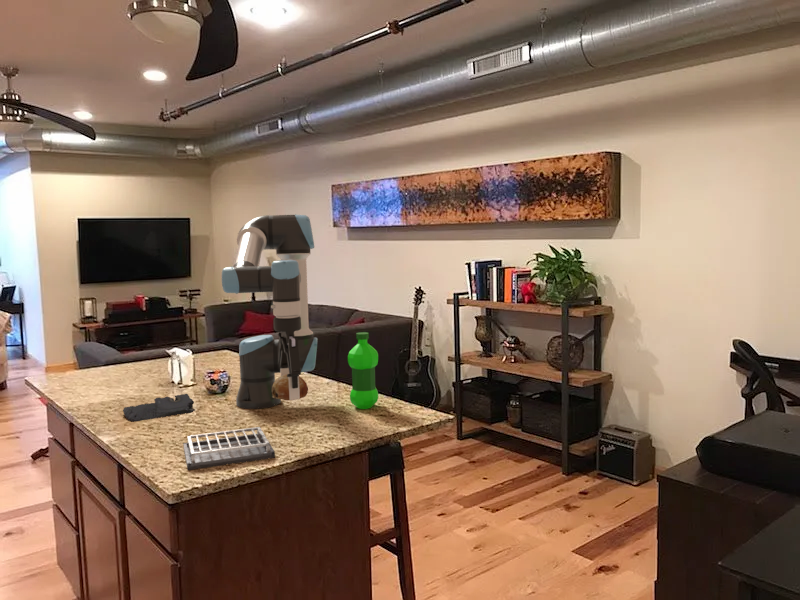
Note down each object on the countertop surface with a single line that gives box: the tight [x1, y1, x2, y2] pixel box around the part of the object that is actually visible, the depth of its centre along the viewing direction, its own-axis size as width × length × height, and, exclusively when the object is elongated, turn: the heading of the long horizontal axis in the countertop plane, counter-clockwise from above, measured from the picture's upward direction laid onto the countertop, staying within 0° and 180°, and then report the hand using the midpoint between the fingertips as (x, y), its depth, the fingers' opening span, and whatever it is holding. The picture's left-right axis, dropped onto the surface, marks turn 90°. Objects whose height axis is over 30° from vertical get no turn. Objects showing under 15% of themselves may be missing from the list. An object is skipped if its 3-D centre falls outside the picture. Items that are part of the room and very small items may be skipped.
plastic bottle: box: [347, 331, 379, 410], centre depth 223 cm, size 10×10×25 cm
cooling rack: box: [182, 426, 276, 471], centre depth 180 cm, size 18×22×4 cm
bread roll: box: [272, 374, 309, 401], centre depth 187 cm, size 10×10×8 cm
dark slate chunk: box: [122, 393, 196, 423], centre depth 223 cm, size 15×22×5 cm
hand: (290, 394), depth 187 cm, fingers closed on bread roll, 10 cm apart
